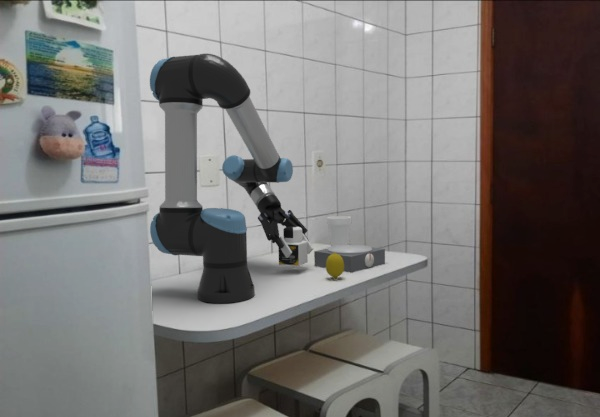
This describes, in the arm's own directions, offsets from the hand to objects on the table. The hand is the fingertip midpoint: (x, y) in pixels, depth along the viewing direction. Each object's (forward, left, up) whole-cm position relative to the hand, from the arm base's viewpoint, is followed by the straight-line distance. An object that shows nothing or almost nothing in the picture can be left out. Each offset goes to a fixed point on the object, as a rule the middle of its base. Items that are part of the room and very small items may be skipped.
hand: (300, 253), depth 170 cm
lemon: (+1, -14, -7) cm, 15 cm away
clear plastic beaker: (+39, +17, -7) cm, 43 cm away
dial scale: (+20, -4, -6) cm, 21 cm away
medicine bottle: (0, +3, -4) cm, 5 cm away
